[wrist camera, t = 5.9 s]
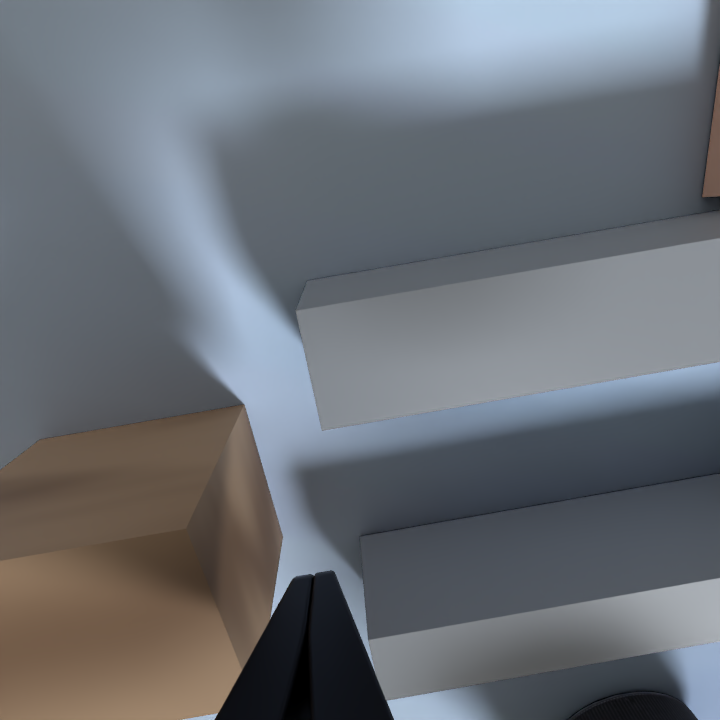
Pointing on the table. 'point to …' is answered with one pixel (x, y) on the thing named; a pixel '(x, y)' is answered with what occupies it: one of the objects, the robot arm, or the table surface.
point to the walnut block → (134, 569)
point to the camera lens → (636, 708)
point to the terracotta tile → (714, 151)
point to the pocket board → (514, 379)
